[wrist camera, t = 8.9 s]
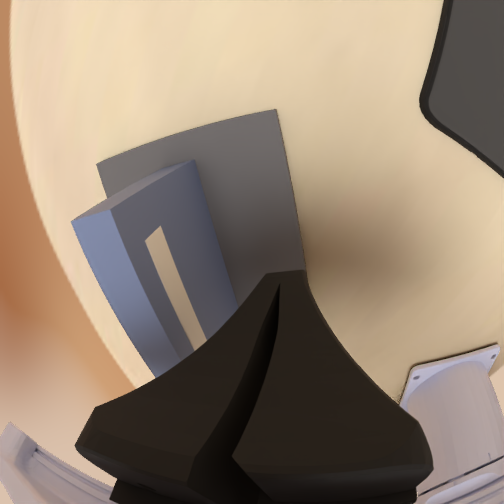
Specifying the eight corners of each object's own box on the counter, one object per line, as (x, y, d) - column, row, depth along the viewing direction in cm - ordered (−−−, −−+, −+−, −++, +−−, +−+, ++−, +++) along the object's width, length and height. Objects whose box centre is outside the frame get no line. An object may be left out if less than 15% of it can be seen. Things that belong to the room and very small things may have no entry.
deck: (243, 323, 15) (217, 418, 10) (216, 325, 16) (182, 414, 10) (194, 159, 11) (110, 209, 6) (162, 168, 12) (70, 221, 6)
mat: (314, 336, 15) (314, 341, 15) (175, 340, 18) (173, 344, 17) (276, 109, 10) (275, 109, 10) (100, 162, 12) (96, 163, 12)
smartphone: (414, 114, 9) (453, -84, 1) (406, 113, 10) (448, -79, 2) (518, 190, 9) (548, -6, 1) (509, 184, 10) (541, -5, 2)
